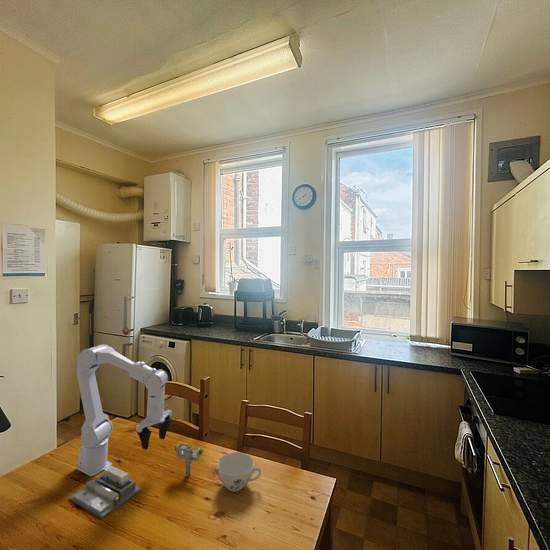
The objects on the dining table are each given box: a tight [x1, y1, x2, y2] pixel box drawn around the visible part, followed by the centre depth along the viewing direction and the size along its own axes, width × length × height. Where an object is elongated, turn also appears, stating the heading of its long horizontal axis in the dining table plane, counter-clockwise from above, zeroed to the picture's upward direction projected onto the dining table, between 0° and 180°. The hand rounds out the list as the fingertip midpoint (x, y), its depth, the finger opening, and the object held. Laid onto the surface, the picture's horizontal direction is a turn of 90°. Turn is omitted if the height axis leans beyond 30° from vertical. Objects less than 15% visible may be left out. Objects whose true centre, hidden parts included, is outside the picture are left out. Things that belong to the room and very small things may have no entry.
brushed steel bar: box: [103, 465, 130, 489], centre depth 97 cm, size 9×2×5 cm, turn 64°
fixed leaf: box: [68, 473, 141, 520], centre depth 94 cm, size 16×13×3 cm
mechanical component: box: [174, 443, 204, 478], centre depth 105 cm, size 3×10×10 cm, turn 78°
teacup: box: [216, 451, 262, 493], centre depth 101 cm, size 15×12×8 cm
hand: (153, 443), depth 106 cm, fingers open, 7 cm apart
